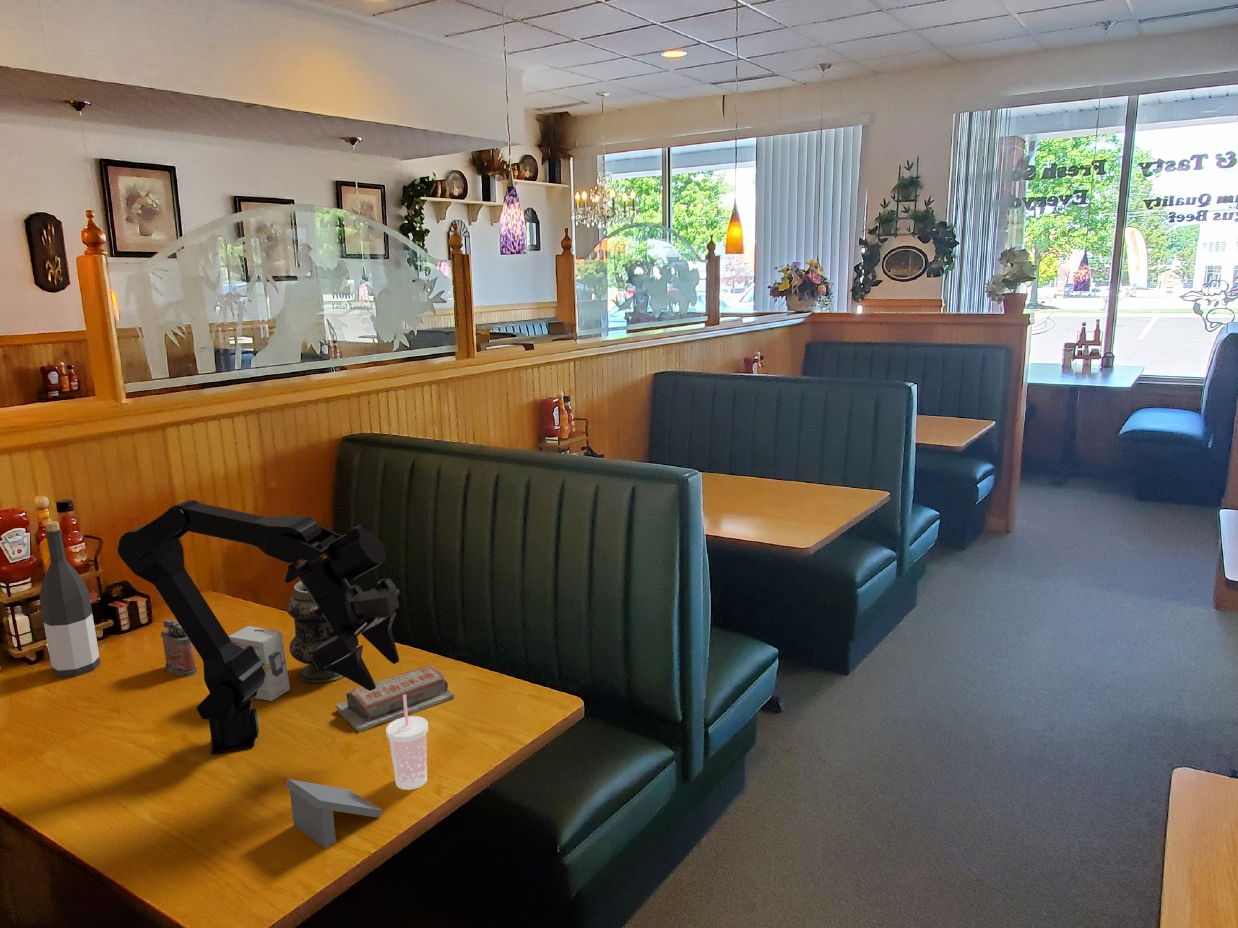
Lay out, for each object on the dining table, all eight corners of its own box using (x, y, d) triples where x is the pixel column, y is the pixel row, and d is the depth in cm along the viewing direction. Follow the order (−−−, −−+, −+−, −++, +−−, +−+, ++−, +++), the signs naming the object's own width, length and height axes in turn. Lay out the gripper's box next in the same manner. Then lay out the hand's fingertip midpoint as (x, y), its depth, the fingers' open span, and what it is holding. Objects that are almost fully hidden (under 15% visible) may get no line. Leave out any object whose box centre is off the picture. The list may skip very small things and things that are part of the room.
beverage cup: (440, 779, 130) (434, 693, 127) (405, 797, 125) (398, 709, 122) (417, 764, 134) (410, 681, 131) (382, 781, 130) (374, 696, 127)
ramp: (350, 794, 126) (346, 750, 125) (382, 815, 121) (378, 769, 120) (289, 826, 119) (284, 780, 118) (321, 850, 114) (316, 802, 113)
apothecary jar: (358, 680, 162) (349, 590, 159) (290, 690, 159) (279, 598, 155) (358, 654, 174) (350, 569, 170) (294, 663, 171) (285, 576, 167)
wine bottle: (42, 676, 168) (15, 527, 161) (77, 658, 175) (52, 515, 169) (76, 679, 166) (50, 529, 159) (110, 661, 173) (86, 517, 167)
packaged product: (427, 657, 161) (453, 675, 154) (429, 681, 162) (455, 700, 155) (333, 687, 150) (356, 708, 143) (335, 712, 151) (358, 735, 144)
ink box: (291, 690, 159) (284, 630, 157) (270, 703, 155) (263, 641, 152) (255, 683, 163) (248, 624, 160) (233, 695, 158) (226, 635, 155)
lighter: (201, 670, 168) (195, 622, 166) (185, 677, 165) (178, 629, 163) (178, 661, 172) (171, 615, 170) (161, 668, 170) (154, 620, 167)
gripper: (345, 591, 123) (403, 681, 125) (396, 549, 141) (446, 629, 143) (285, 624, 125) (343, 712, 127) (342, 579, 143) (393, 657, 145)
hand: (385, 675), depth 135 cm, fingers open, 9 cm apart
